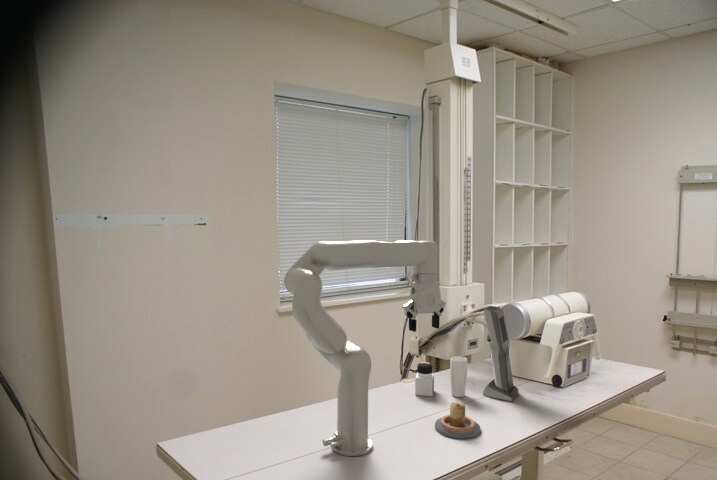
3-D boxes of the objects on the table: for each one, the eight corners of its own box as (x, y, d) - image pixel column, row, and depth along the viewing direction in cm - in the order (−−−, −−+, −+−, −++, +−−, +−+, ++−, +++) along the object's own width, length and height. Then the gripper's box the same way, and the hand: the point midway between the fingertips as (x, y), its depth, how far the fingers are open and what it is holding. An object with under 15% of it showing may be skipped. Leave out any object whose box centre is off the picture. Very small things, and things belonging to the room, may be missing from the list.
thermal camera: (488, 386, 194) (489, 305, 193) (519, 392, 188) (521, 308, 186) (480, 395, 184) (481, 309, 183) (512, 402, 178) (514, 313, 176)
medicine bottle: (433, 396, 183) (433, 367, 182) (415, 395, 184) (415, 365, 184) (433, 390, 190) (434, 361, 189) (416, 388, 191) (416, 360, 191)
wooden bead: (456, 430, 151) (457, 409, 151) (446, 424, 155) (447, 404, 155) (468, 427, 154) (468, 406, 153) (457, 421, 158) (458, 401, 158)
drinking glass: (469, 394, 185) (469, 358, 185) (463, 399, 180) (464, 362, 179) (453, 391, 189) (453, 355, 188) (447, 396, 183) (447, 359, 183)
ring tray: (456, 443, 144) (456, 435, 144) (425, 424, 157) (425, 417, 157) (489, 432, 152) (490, 425, 152) (458, 415, 165) (458, 408, 165)
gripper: (411, 280, 143) (410, 334, 144) (452, 278, 152) (451, 328, 153) (397, 278, 150) (396, 329, 151) (437, 275, 159) (436, 324, 159)
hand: (424, 329), depth 152 cm, fingers open, 9 cm apart
